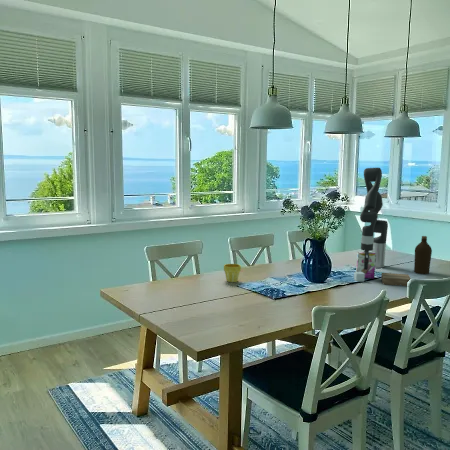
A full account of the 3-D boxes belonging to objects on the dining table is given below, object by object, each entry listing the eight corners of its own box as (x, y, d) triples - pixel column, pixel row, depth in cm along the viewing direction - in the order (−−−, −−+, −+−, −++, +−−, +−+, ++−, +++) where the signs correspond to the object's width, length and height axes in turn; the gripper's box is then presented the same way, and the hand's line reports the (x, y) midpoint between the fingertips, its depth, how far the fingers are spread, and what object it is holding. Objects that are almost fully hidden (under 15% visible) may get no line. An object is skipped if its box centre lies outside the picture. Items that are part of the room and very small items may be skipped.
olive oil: (425, 275, 310) (428, 238, 306) (410, 272, 318) (412, 235, 314) (432, 273, 316) (436, 236, 313) (418, 270, 324) (420, 234, 321)
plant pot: (229, 277, 294) (230, 262, 293) (243, 280, 288) (244, 265, 287) (220, 281, 286) (220, 265, 284) (234, 284, 280) (234, 268, 278)
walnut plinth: (381, 278, 299) (381, 272, 298) (407, 280, 295) (408, 274, 294) (383, 284, 285) (383, 277, 285) (410, 286, 282) (411, 280, 281)
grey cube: (353, 279, 296) (354, 271, 295) (361, 279, 296) (362, 271, 295) (356, 281, 291) (356, 273, 290) (364, 281, 291) (364, 273, 290)
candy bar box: (356, 278, 299) (358, 252, 297) (355, 276, 304) (356, 251, 302) (374, 278, 298) (376, 253, 296) (373, 276, 303) (374, 252, 301)
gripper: (360, 240, 306) (359, 265, 308) (361, 244, 292) (359, 270, 294) (372, 241, 304) (371, 266, 306) (374, 244, 290) (372, 271, 293)
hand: (365, 268), depth 300 cm, fingers closed on candy bar box, 5 cm apart
